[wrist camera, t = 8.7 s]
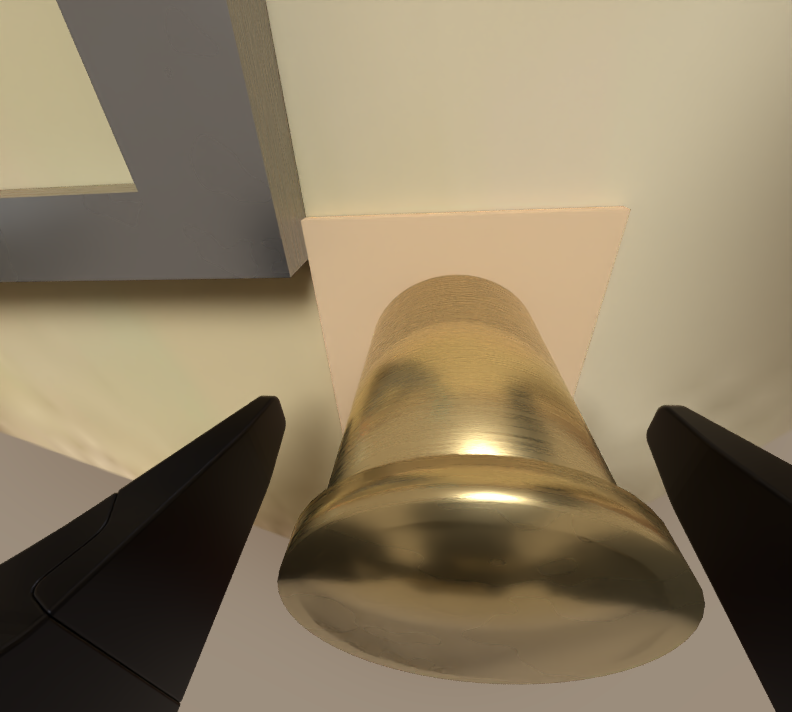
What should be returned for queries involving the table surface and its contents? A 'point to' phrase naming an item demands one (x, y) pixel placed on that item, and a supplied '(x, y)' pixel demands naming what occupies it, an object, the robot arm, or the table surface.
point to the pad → (462, 255)
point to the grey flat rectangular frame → (171, 153)
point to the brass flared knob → (480, 512)
